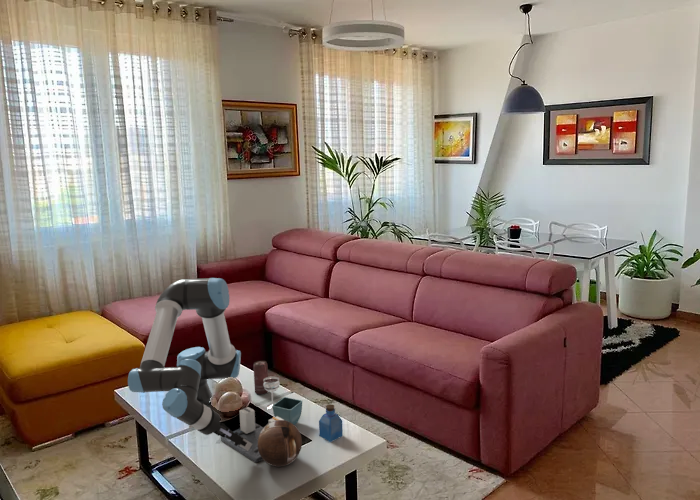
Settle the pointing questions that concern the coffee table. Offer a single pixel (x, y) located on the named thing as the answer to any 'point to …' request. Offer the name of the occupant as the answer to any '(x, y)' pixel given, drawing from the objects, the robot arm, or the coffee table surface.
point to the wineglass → (271, 387)
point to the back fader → (247, 420)
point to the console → (250, 437)
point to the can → (260, 376)
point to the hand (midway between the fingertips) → (249, 446)
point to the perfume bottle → (330, 425)
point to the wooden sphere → (279, 443)
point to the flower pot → (288, 409)
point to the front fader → (274, 419)
